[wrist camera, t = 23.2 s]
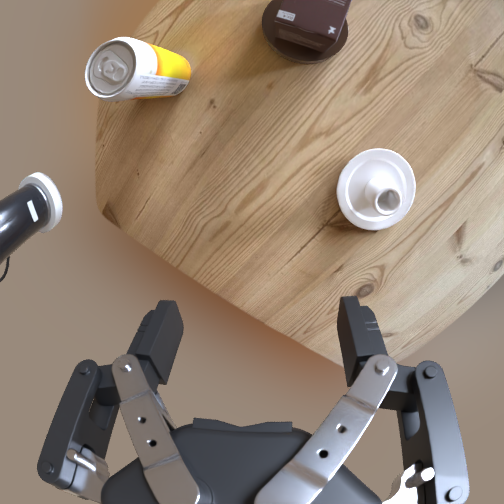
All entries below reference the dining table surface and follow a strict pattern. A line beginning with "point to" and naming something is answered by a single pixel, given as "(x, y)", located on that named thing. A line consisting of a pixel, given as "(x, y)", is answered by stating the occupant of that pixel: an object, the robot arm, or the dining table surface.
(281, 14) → the box
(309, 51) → the walnut coaster
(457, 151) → the dining table surface
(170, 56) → the beer can
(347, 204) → the candle holder
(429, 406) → the robot arm
